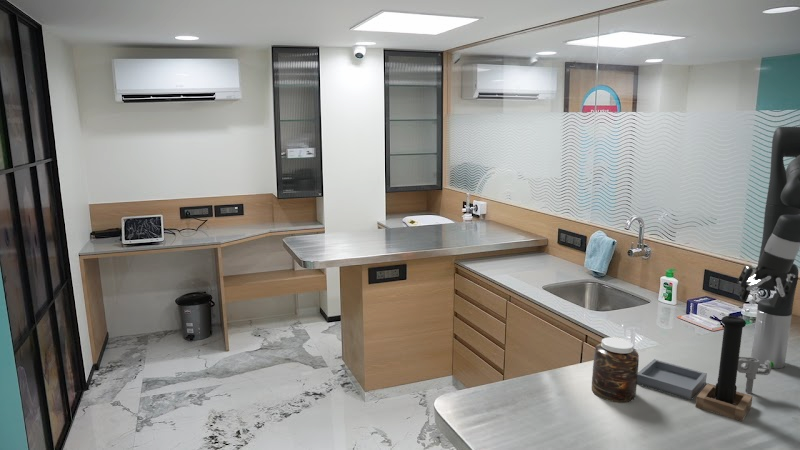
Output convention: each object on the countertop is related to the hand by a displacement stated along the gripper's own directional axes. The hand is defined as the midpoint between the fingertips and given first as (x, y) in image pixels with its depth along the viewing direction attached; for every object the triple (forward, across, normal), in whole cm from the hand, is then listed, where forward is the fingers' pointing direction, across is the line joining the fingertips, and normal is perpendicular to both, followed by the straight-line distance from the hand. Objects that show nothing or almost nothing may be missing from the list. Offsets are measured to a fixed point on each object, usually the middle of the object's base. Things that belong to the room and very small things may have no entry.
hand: (757, 303), depth 160 cm
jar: (+29, +36, +15) cm, 49 cm away
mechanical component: (+24, -2, +9) cm, 26 cm away
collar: (+24, +9, +19) cm, 32 cm away
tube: (+24, +9, +19) cm, 32 cm away
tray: (+28, +18, +6) cm, 34 cm away
